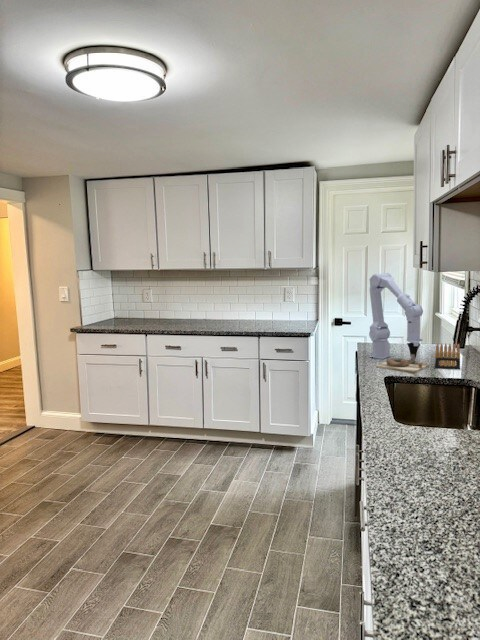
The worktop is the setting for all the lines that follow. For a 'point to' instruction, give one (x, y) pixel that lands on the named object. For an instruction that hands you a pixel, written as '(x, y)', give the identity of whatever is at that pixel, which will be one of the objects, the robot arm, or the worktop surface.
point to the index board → (404, 367)
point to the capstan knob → (401, 361)
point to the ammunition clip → (445, 361)
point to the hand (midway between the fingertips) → (413, 357)
